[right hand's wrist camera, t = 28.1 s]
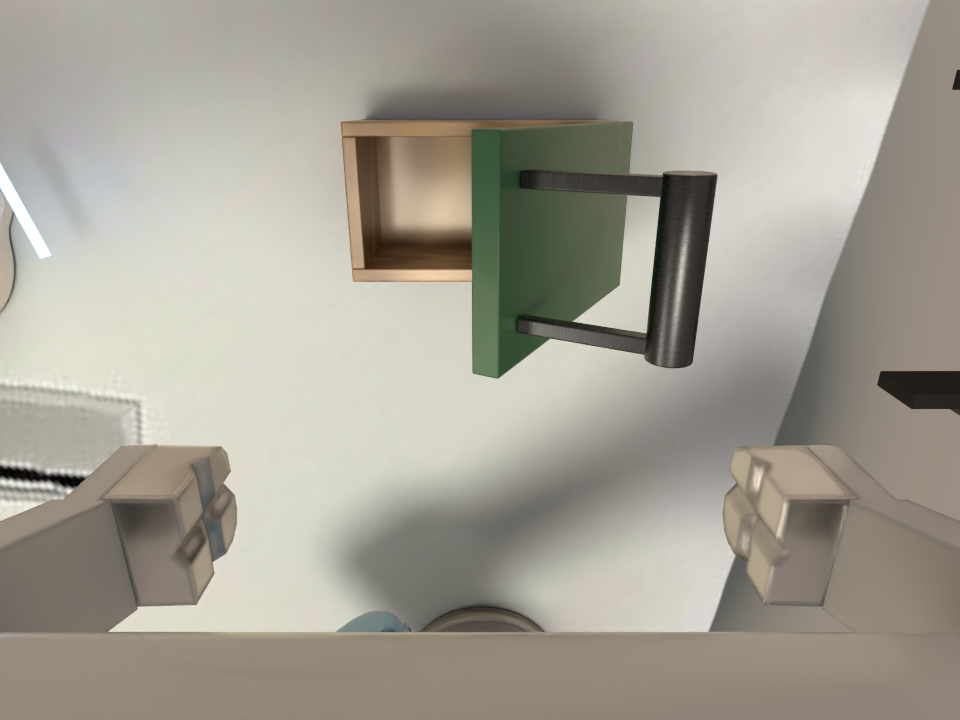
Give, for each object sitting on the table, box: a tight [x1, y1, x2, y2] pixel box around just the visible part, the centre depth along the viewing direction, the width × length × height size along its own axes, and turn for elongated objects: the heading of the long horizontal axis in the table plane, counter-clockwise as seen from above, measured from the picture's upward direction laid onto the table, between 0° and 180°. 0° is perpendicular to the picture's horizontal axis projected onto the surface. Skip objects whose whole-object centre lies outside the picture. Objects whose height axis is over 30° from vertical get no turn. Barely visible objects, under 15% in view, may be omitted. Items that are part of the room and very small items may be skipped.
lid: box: [471, 122, 717, 378], centre depth 30 cm, size 17×10×9 cm
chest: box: [341, 119, 619, 282], centre depth 44 cm, size 17×10×9 cm, turn 90°
